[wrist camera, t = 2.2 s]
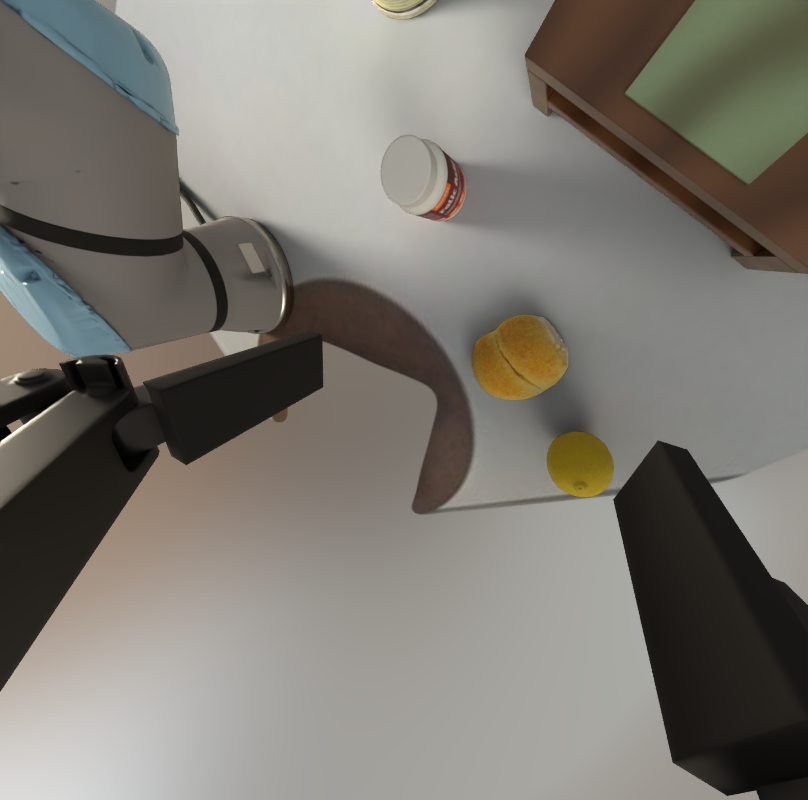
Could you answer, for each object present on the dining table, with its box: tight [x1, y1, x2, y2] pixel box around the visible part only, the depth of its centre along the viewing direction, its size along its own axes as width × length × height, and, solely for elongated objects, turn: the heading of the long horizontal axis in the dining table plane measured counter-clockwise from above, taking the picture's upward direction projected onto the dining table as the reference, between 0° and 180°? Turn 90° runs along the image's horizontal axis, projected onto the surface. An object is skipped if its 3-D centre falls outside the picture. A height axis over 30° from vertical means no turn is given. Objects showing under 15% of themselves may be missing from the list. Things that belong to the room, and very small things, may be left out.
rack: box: [525, 0, 808, 274], centre depth 15 cm, size 20×10×7 cm, turn 57°
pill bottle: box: [381, 135, 467, 221], centre depth 24 cm, size 5×5×8 cm
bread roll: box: [472, 314, 568, 400], centre depth 29 cm, size 8×9×4 cm
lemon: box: [547, 431, 614, 497], centre depth 28 cm, size 6×6×8 cm
